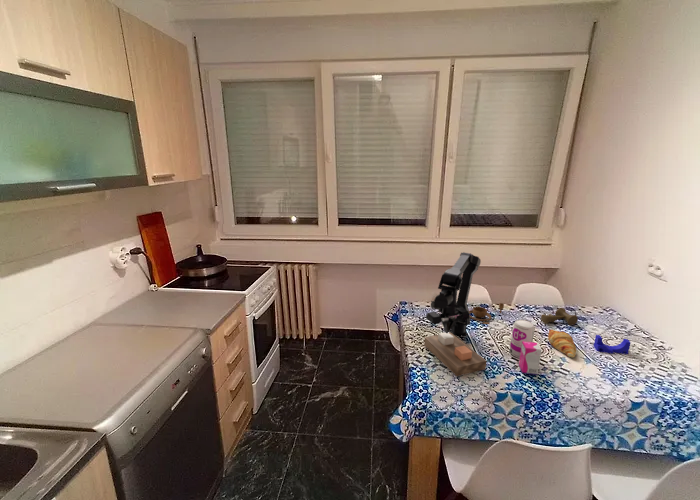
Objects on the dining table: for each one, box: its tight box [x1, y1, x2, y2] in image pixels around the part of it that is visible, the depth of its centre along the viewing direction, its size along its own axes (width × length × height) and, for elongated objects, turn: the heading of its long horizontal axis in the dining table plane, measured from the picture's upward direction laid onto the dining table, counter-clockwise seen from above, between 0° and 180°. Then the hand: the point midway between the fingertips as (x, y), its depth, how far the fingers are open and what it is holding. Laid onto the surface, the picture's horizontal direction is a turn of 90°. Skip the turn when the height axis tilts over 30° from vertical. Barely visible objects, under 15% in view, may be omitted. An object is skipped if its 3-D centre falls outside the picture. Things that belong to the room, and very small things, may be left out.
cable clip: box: [593, 334, 632, 355], centre depth 148 cm, size 12×4×6 cm, turn 71°
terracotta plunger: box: [454, 346, 472, 361], centre depth 137 cm, size 5×5×4 cm
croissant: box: [547, 329, 577, 358], centre depth 152 cm, size 21×10×8 cm, turn 175°
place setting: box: [469, 302, 505, 325], centre depth 179 cm, size 18×20×6 cm
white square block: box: [437, 331, 454, 345], centre depth 148 cm, size 5×5×4 cm
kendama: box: [540, 307, 579, 326], centre depth 175 cm, size 6×10×20 cm
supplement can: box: [509, 319, 536, 359], centre depth 144 cm, size 8×8×15 cm
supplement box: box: [518, 341, 542, 376], centre depth 133 cm, size 6×6×12 cm
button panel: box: [423, 331, 487, 377], centre depth 143 cm, size 14×24×4 cm, turn 20°
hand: (446, 332), depth 147 cm, fingers closed
